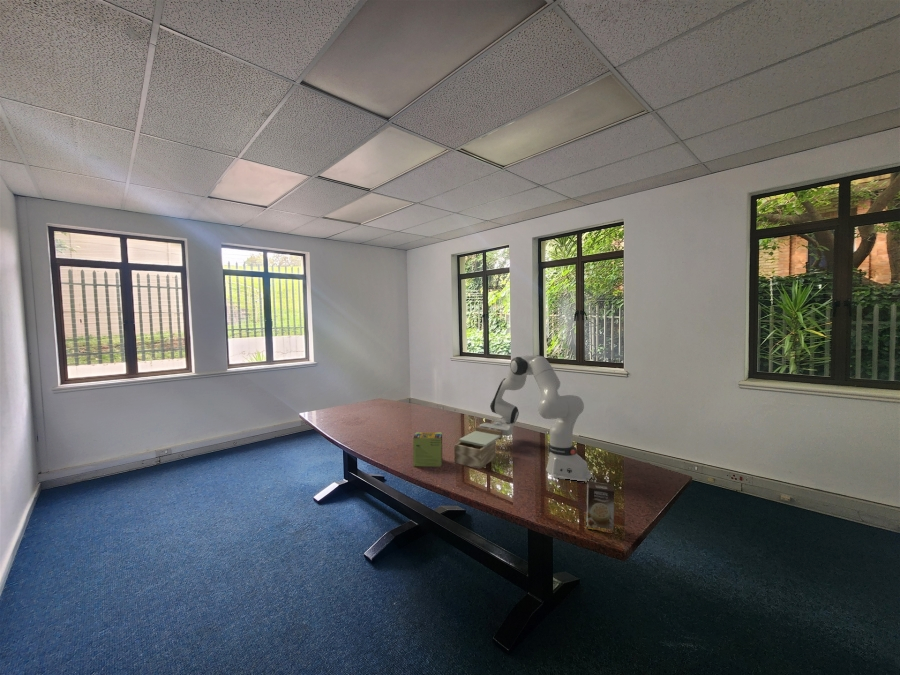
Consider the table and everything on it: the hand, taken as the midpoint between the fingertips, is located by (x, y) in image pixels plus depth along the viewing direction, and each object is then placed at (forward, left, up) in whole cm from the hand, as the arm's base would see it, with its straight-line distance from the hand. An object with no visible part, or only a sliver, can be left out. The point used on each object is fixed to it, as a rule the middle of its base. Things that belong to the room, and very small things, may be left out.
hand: (489, 432), depth 212 cm
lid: (0, +10, -2) cm, 11 cm away
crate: (0, +17, -11) cm, 20 cm away
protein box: (+20, +34, -12) cm, 41 cm away
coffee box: (-71, +48, -12) cm, 86 cm away
